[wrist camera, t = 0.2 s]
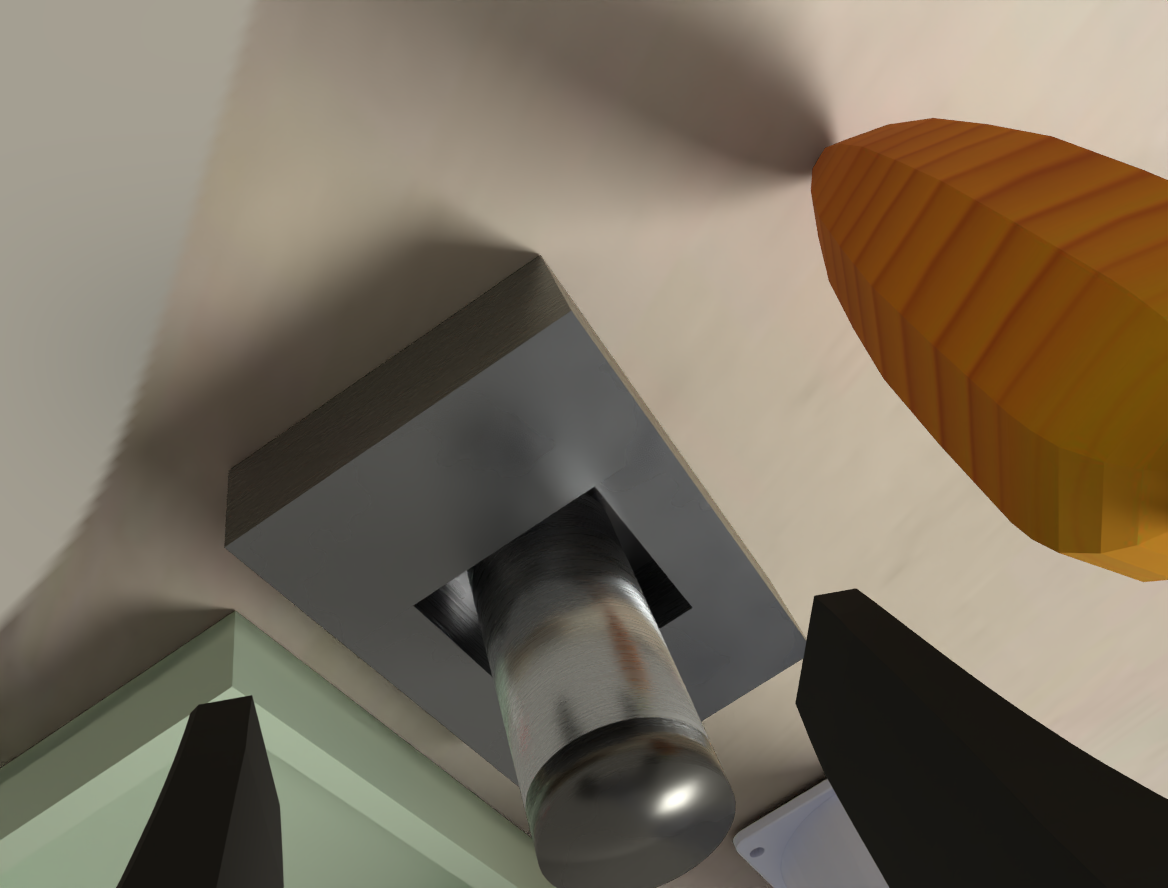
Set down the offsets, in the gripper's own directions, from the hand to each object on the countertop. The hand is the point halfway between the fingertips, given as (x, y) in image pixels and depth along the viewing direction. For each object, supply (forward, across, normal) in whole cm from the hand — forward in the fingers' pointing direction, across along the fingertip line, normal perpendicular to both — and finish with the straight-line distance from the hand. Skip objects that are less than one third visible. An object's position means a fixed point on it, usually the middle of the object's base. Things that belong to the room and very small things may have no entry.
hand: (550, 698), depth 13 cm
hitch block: (+10, -2, +5) cm, 12 cm away
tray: (+10, +6, +15) cm, 19 cm away
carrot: (+10, -8, -3) cm, 13 cm away
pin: (+10, -2, +6) cm, 11 cm away
